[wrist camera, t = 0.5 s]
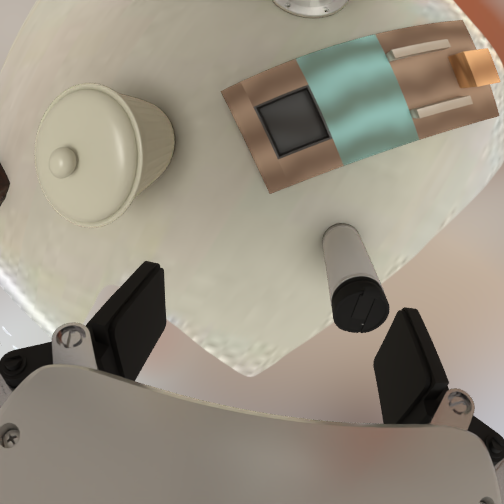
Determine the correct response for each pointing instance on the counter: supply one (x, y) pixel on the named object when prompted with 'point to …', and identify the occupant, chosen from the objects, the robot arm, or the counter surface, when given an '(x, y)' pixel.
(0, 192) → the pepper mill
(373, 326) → the travel mug
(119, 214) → the canister
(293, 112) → the board
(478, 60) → the block
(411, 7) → the counter surface
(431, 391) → the robot arm
